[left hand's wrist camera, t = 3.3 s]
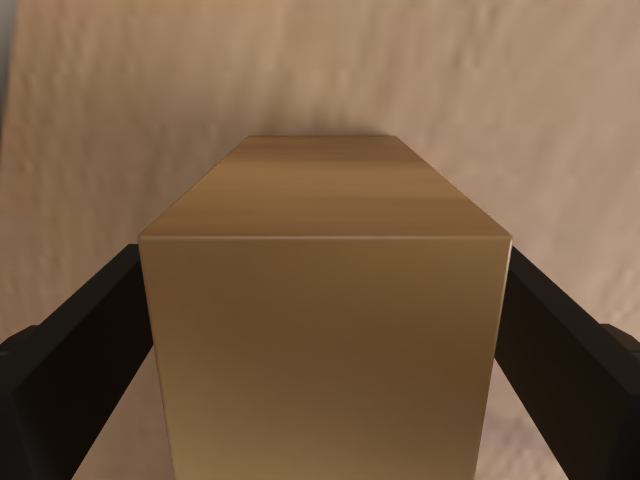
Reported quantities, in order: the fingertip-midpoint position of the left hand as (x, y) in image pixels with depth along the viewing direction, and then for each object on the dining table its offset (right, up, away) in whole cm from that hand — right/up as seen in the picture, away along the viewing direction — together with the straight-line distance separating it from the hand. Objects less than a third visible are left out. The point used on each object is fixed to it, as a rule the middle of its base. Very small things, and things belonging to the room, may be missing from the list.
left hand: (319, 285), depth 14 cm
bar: (0, -8, +5) cm, 9 cm away
